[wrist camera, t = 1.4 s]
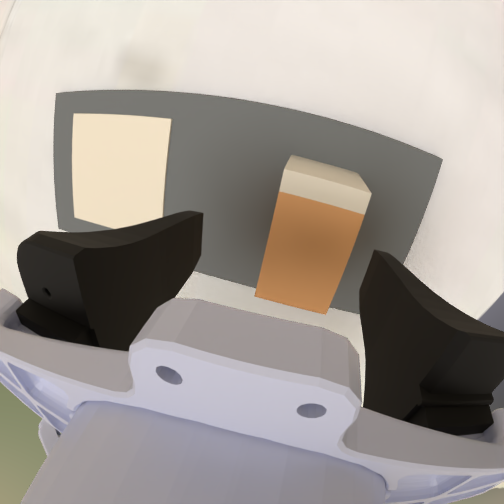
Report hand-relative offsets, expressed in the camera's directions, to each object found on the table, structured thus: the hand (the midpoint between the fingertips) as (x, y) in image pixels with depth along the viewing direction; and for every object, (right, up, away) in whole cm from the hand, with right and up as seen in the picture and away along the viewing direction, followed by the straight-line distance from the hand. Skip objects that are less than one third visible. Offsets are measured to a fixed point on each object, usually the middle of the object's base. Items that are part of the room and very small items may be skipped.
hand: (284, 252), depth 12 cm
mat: (-5, +5, +10) cm, 12 cm away
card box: (+3, +2, +8) cm, 9 cm away
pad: (-13, +7, +10) cm, 18 cm away
